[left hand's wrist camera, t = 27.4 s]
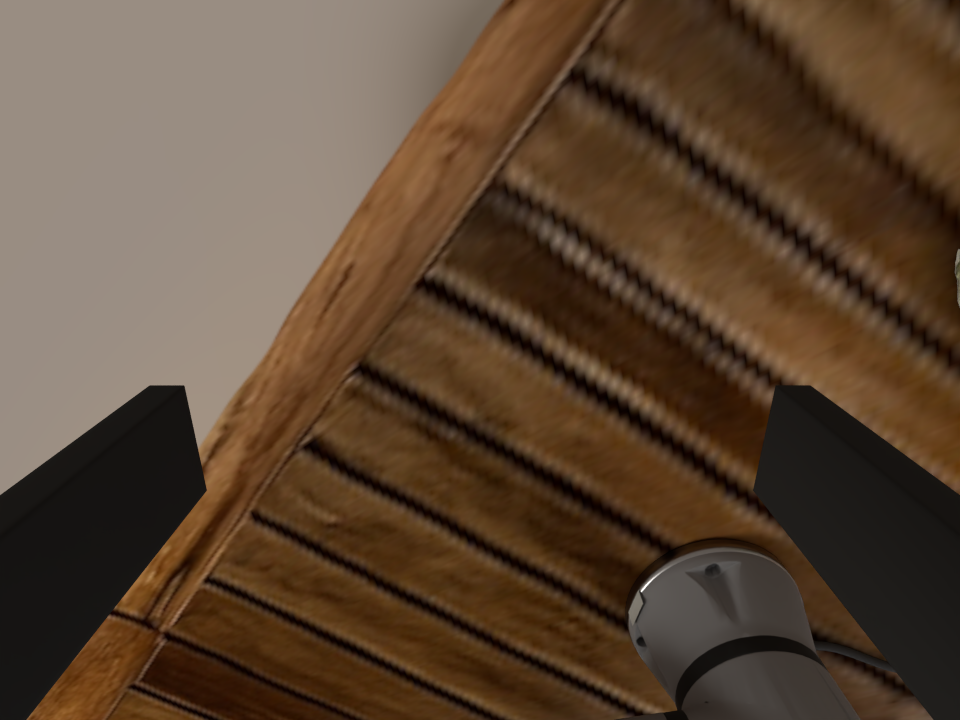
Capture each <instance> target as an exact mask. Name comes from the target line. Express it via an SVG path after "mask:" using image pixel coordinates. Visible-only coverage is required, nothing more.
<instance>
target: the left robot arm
mask: <svg viewBox="0 0 960 720" xmlns="http://www.w3.org/2000/svg"><path fill="white" fill-rule="evenodd" d="M206 491H207V489H206V485H205V480H204V475H203V471H202V466H201V461H200V457H199V452H198V447H197V443H196V438H195V433H194V429H193V424H192V419H191V415H190V410H189V405H188V401H187V396H186V391H185V387H184V386H148V387H147V388H146V389H144V390H143V391H142V392H140V393H139V394H138V395H136V396H135V397H133V398H132V399H131V400H129V401H128V402H127V403H125V404H124V405H123V406H121V407H120V408H118V409H117V410H116V411H114V412H113V413H112V414H110V415H109V416H108V417H106V418H105V419H103V420H102V421H101V422H99V423H98V424H97V425H95V426H94V427H93V428H91V429H90V430H88V431H87V432H86V433H84V434H83V435H82V436H80V437H79V438H78V439H76V440H75V441H74V442H72V443H71V444H69V445H68V446H67V447H65V448H64V449H63V450H61V451H60V452H58V453H57V454H56V455H54V456H53V457H52V458H50V459H49V460H48V461H46V462H45V463H43V464H42V465H41V466H39V467H38V468H37V469H35V470H34V471H33V472H31V473H30V474H28V475H27V476H26V477H24V478H23V479H22V480H20V481H19V482H18V483H16V484H15V485H14V486H12V487H11V488H9V489H8V490H7V491H5V492H4V493H3V494H1V495H0V720H26V719H27V718H28V717H29V716H30V714H31V713H32V712H33V711H34V709H35V708H36V707H37V705H38V704H39V703H40V702H41V700H42V699H43V698H44V697H45V695H46V694H47V693H48V692H49V690H50V689H51V688H52V686H53V685H54V684H55V683H56V681H57V680H58V679H59V678H60V676H61V675H62V674H63V672H64V671H65V670H66V669H67V667H68V666H69V665H70V664H71V662H72V661H73V660H74V658H75V657H76V656H77V655H78V653H79V652H80V651H81V650H82V648H83V647H84V646H85V645H86V643H87V642H88V641H89V639H90V638H91V637H92V636H93V634H94V633H95V632H96V631H97V629H98V628H99V627H100V625H101V624H102V623H103V622H104V620H105V619H106V618H107V617H108V615H109V614H110V613H111V611H112V610H113V609H114V608H115V606H116V605H117V604H118V603H119V601H120V600H121V599H122V597H123V596H124V595H125V594H126V592H127V591H128V590H129V589H130V587H131V586H132V585H133V584H134V582H135V581H136V580H137V578H138V577H139V576H140V575H141V573H142V572H143V571H144V570H145V568H146V567H147V566H148V564H149V563H150V562H151V561H152V559H153V558H154V557H155V556H156V554H157V553H158V552H159V550H160V549H161V548H162V547H163V545H164V544H165V543H166V542H167V540H168V539H169V538H170V537H171V535H172V534H173V533H174V531H175V530H176V529H177V528H178V526H179V525H180V524H181V523H182V521H183V520H184V519H185V517H186V516H187V515H188V514H189V512H190V511H191V510H192V509H193V507H194V506H195V505H196V503H197V502H198V501H199V500H200V498H201V497H202V496H203V495H204V493H205V492H206ZM753 491H754V492H755V493H756V495H757V496H758V497H759V498H760V500H761V501H762V502H763V503H764V505H765V506H766V507H767V509H768V510H769V511H770V512H771V514H772V515H773V516H774V517H775V519H776V520H777V521H778V523H779V524H780V525H781V526H782V528H783V529H784V530H785V531H786V533H787V534H788V535H789V537H790V538H791V539H792V540H793V542H794V543H795V544H796V545H797V547H798V548H799V549H800V550H801V552H802V553H803V554H804V556H805V557H806V558H807V559H808V561H809V562H810V563H811V564H812V566H813V567H814V568H815V570H816V571H817V572H818V573H819V575H820V576H821V577H822V578H823V580H824V581H825V582H826V584H827V585H828V586H829V587H830V589H831V590H832V591H833V592H834V594H835V595H836V596H837V597H838V599H839V600H840V601H841V603H842V604H843V605H844V606H845V608H846V609H847V610H848V611H849V613H850V614H851V615H852V617H853V618H854V619H855V620H856V622H857V623H858V624H859V625H860V627H861V628H862V629H863V631H864V632H865V633H866V634H867V636H868V637H869V638H870V639H871V641H872V642H873V643H874V645H875V646H876V647H877V648H878V650H879V651H880V652H881V653H882V655H883V656H884V657H885V658H886V660H887V661H888V662H887V661H884V660H881V659H878V658H875V657H872V656H869V655H867V654H864V653H862V652H859V651H857V650H854V649H851V648H848V647H845V646H842V645H838V644H835V643H830V642H822V641H813V638H812V634H811V631H810V627H809V623H808V619H807V616H806V613H805V609H804V604H803V600H802V597H801V594H800V592H799V590H798V587H797V585H796V583H795V581H794V580H793V578H792V577H791V575H790V574H789V573H788V571H787V570H786V568H785V567H784V566H783V564H782V563H781V562H780V561H779V560H778V559H777V558H776V557H775V556H773V555H772V554H771V553H769V552H768V551H766V550H765V549H763V548H761V547H759V546H756V545H753V544H750V543H747V542H743V541H737V540H728V539H715V540H706V541H700V542H695V543H691V544H688V545H685V546H682V547H679V548H677V549H675V550H673V551H670V552H668V553H667V554H665V555H663V556H662V557H660V558H659V559H657V560H656V561H654V562H653V563H652V564H651V565H650V566H648V567H647V568H646V569H645V570H644V571H643V572H642V574H641V575H640V576H639V577H638V578H637V580H636V581H635V583H634V584H633V586H632V588H631V590H630V593H629V595H628V598H627V602H626V610H625V615H626V622H627V626H628V629H629V633H630V636H631V639H632V642H633V644H634V646H635V648H636V650H637V652H638V653H639V655H640V657H641V658H642V660H643V661H644V662H645V664H646V665H647V666H648V668H649V669H650V670H651V672H652V673H653V674H654V676H655V677H656V678H657V680H658V681H659V682H660V684H661V685H662V686H663V688H664V689H665V690H666V692H667V693H668V694H669V696H670V697H671V698H672V700H673V701H674V702H675V704H676V707H677V710H678V711H671V712H665V713H656V714H649V715H642V716H636V717H629V718H623V719H616V720H861V719H860V718H859V716H858V715H857V713H856V712H855V710H854V709H853V708H852V706H851V705H850V703H849V702H848V700H847V699H846V697H845V696H844V694H843V693H842V691H841V690H840V688H839V687H838V685H837V684H836V682H835V681H834V679H833V678H832V676H831V675H830V674H829V672H828V670H827V669H826V667H825V666H824V664H823V663H822V661H821V660H820V658H819V657H818V655H817V653H816V650H824V651H831V652H835V653H839V654H843V655H846V656H849V657H852V658H854V659H857V660H860V661H862V662H865V663H867V664H870V665H873V666H875V667H878V668H881V669H884V670H888V671H892V672H895V673H897V674H898V675H899V676H900V678H901V679H902V680H903V681H904V683H905V684H906V685H907V686H908V688H909V689H910V690H911V692H912V693H913V694H914V695H915V697H916V698H917V699H918V700H919V702H920V703H921V704H922V705H923V707H924V708H925V709H926V711H927V712H928V713H929V714H930V716H931V717H932V718H933V719H934V720H960V495H959V494H957V493H956V492H955V491H953V490H952V489H951V488H949V487H948V486H947V485H945V484H944V483H942V482H941V481H940V480H938V479H937V478H936V477H934V476H933V475H932V474H930V473H929V472H927V471H926V470H925V469H923V468H922V467H921V466H919V465H918V464H917V463H915V462H914V461H912V460H911V459H910V458H908V457H907V456H906V455H904V454H903V453H902V452H900V451H899V450H897V449H896V448H895V447H893V446H892V445H891V444H889V443H888V442H887V441H885V440H884V439H882V438H881V437H880V436H878V435H877V434H876V433H874V432H873V431H872V430H870V429H869V428H867V427H866V426H865V425H863V424H862V423H861V422H859V421H858V420H857V419H855V418H854V417H852V416H851V415H850V414H848V413H847V412H846V411H844V410H843V409H842V408H840V407H839V406H837V405H836V404H835V403H833V402H832V401H831V400H829V399H828V398H827V397H825V396H824V395H822V394H821V393H820V392H818V391H817V390H816V389H814V388H813V387H812V386H776V387H775V391H774V396H773V401H772V405H771V410H770V415H769V419H768V424H767V429H766V433H765V438H764V443H763V447H762V452H761V457H760V461H759V466H758V471H757V475H756V480H755V485H754V489H753Z"/></svg>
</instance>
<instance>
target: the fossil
mask: <svg viewBox="0 0 960 720" xmlns="http://www.w3.org/2000/svg"><path fill="white" fill-rule="evenodd" d="M955 275H956V278H957V287H958V304H959V306H960V249H958V252H957V257H956V264H955Z"/></svg>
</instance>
